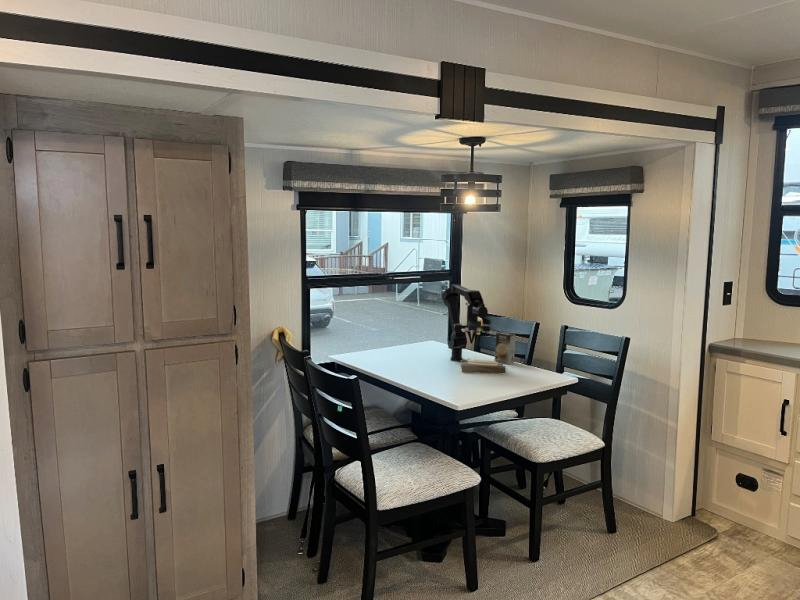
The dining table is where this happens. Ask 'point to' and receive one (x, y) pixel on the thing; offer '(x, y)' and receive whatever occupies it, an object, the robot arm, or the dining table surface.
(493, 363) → the tan rectangular panel
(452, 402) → the dining table surface
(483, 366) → the floor board
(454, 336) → the robot arm
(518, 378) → the dining table surface
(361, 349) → the dining table surface
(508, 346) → the coffee box
